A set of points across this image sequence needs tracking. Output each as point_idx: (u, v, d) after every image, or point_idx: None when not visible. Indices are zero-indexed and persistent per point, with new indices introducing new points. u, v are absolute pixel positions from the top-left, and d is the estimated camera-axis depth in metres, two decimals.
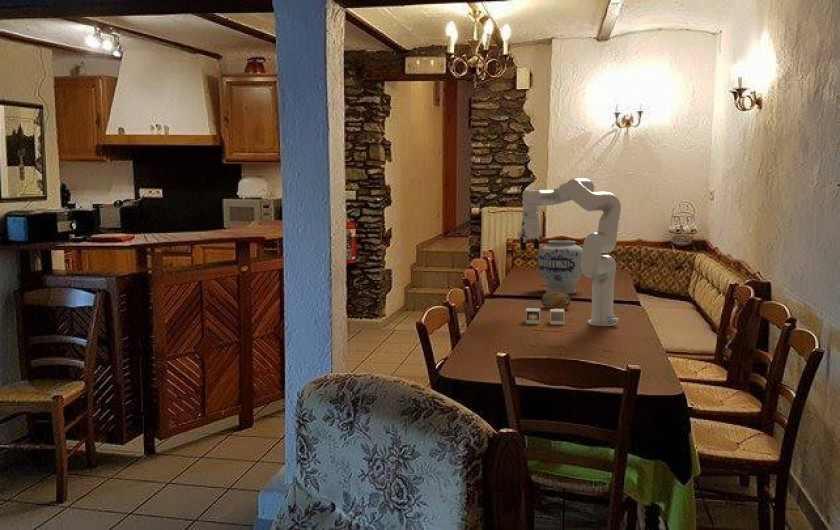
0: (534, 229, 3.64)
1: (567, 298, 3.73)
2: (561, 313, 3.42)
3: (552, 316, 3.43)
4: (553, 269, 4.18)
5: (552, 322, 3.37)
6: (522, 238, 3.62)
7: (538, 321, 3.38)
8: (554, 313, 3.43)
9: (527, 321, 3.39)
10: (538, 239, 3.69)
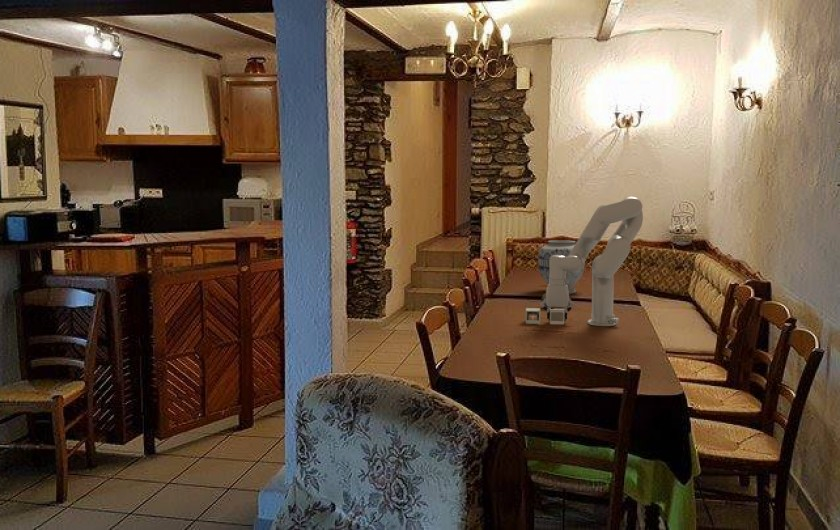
0: None
1: None
2: (561, 313, 3.42)
3: (552, 316, 3.43)
4: None
5: (552, 322, 3.37)
6: (568, 307, 3.39)
7: (538, 321, 3.38)
8: (554, 313, 3.43)
9: (527, 321, 3.39)
10: None
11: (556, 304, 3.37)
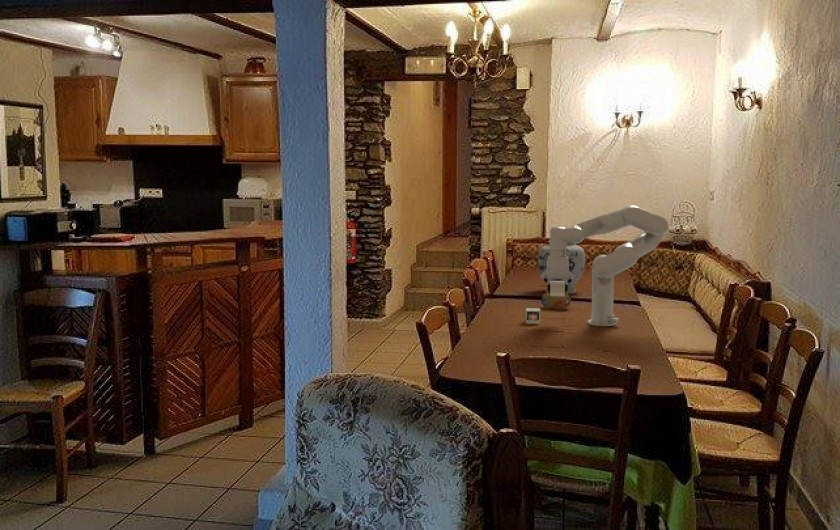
0: None
1: (567, 298, 3.73)
2: (561, 285, 3.40)
3: (552, 288, 3.41)
4: None
5: (552, 294, 3.36)
6: None
7: (538, 321, 3.38)
8: (554, 285, 3.41)
9: (527, 321, 3.39)
10: None
11: (556, 276, 3.35)
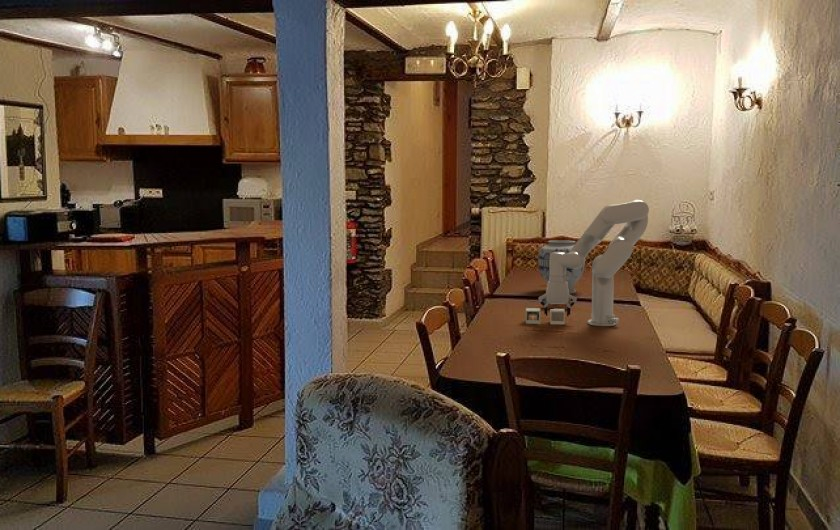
0: None
1: None
2: (561, 313, 3.42)
3: (552, 316, 3.43)
4: None
5: (552, 322, 3.37)
6: (571, 302, 3.39)
7: (538, 321, 3.38)
8: (554, 313, 3.42)
9: (527, 321, 3.39)
10: None
11: (556, 301, 3.37)
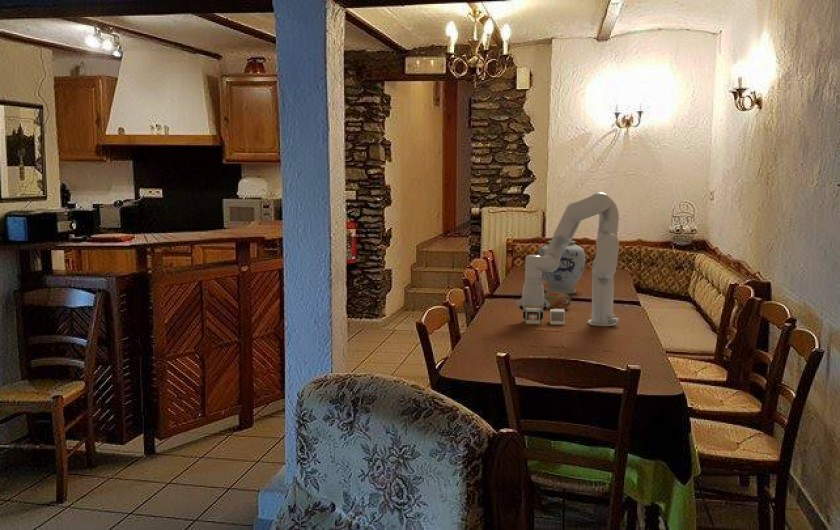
0: None
1: (567, 298, 3.73)
2: (561, 313, 3.42)
3: (552, 316, 3.43)
4: None
5: (552, 322, 3.37)
6: (544, 307, 3.41)
7: (538, 321, 3.38)
8: (554, 313, 3.42)
9: (527, 321, 3.39)
10: None
11: (532, 303, 3.39)
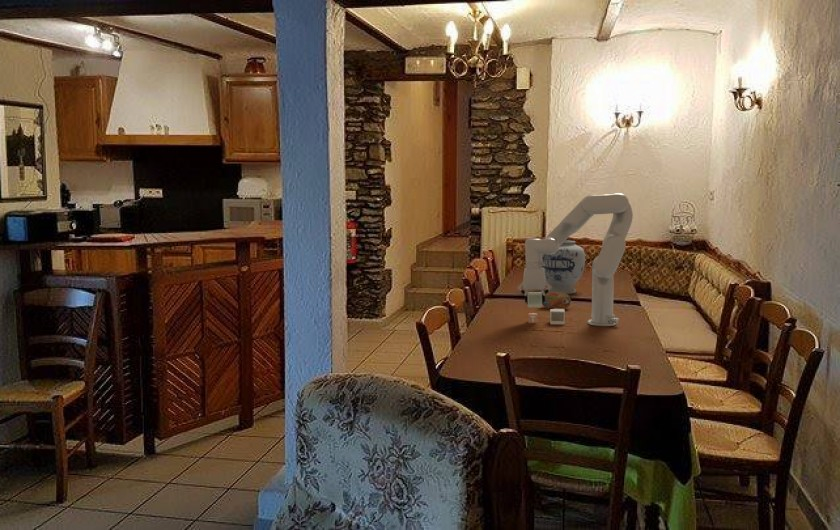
0: None
1: (567, 298, 3.73)
2: (561, 313, 3.42)
3: (552, 316, 3.43)
4: (553, 269, 4.18)
5: (552, 322, 3.37)
6: None
7: (540, 304, 3.37)
8: (554, 313, 3.42)
9: (529, 305, 3.38)
10: None
11: (533, 287, 3.38)
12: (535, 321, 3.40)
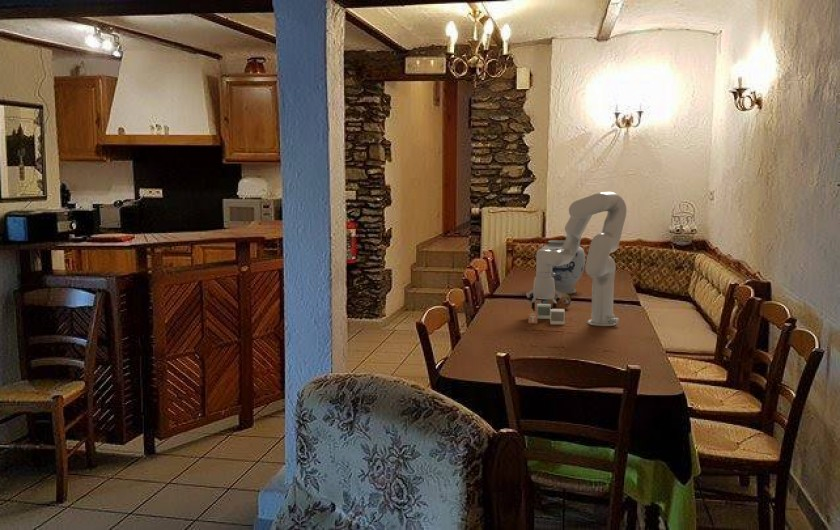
0: None
1: (567, 298, 3.73)
2: (561, 313, 3.42)
3: (552, 316, 3.43)
4: (553, 269, 4.18)
5: (552, 322, 3.37)
6: (557, 298, 3.52)
7: (549, 316, 3.50)
8: (554, 313, 3.42)
9: (538, 316, 3.51)
10: None
11: (543, 296, 3.50)
12: (535, 321, 3.40)
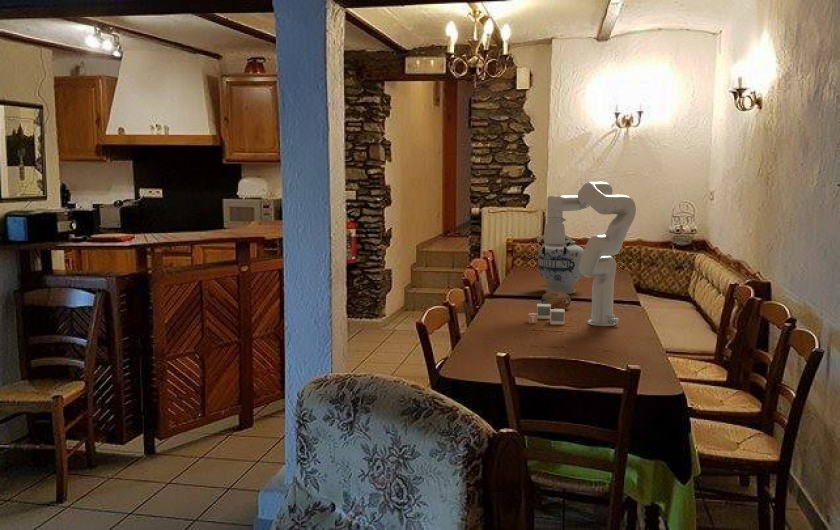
0: None
1: (567, 298, 3.73)
2: (561, 313, 3.42)
3: (552, 316, 3.43)
4: (553, 269, 4.18)
5: (552, 322, 3.37)
6: (567, 243, 3.62)
7: (549, 316, 3.50)
8: (554, 313, 3.42)
9: (538, 316, 3.51)
10: None
11: (553, 241, 3.61)
12: (535, 321, 3.40)
